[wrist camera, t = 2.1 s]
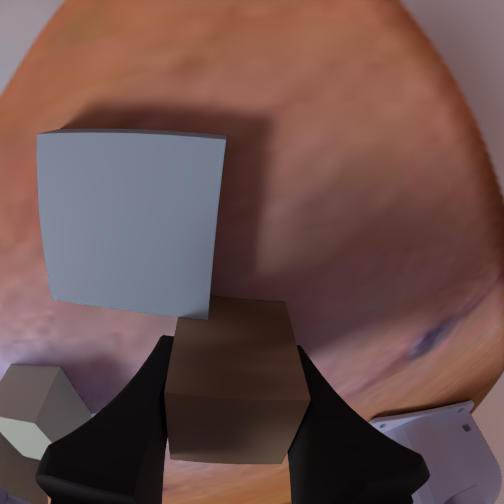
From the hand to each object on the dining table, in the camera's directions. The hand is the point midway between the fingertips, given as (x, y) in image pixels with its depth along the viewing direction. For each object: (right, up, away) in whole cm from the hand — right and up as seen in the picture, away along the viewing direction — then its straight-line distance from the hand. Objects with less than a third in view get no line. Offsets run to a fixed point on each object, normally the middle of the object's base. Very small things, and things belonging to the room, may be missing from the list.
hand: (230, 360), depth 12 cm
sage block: (-11, -4, +3) cm, 12 cm away
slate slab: (-3, +6, -1) cm, 7 cm away
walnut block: (0, +1, +1) cm, 1 cm away
